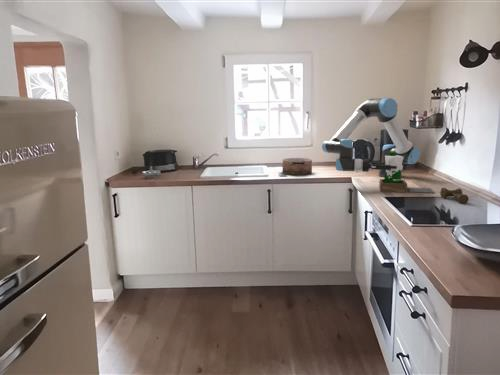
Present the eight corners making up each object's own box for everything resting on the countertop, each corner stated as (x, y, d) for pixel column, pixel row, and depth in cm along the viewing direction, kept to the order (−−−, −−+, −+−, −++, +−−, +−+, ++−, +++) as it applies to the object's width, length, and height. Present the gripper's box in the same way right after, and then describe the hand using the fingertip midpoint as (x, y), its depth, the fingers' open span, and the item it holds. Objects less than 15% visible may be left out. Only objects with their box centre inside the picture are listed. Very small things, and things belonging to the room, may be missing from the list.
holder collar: (379, 186, 239) (379, 178, 238) (403, 187, 235) (404, 179, 234) (380, 191, 225) (380, 183, 224) (406, 192, 221) (407, 184, 220)
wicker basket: (314, 176, 281) (314, 161, 279) (283, 176, 282) (283, 162, 280) (309, 170, 311) (309, 157, 309) (281, 170, 312) (281, 157, 309)
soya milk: (394, 184, 235) (396, 151, 231) (403, 186, 226) (405, 153, 223) (381, 185, 233) (383, 152, 229) (390, 187, 224) (392, 153, 220)
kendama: (453, 205, 194) (436, 195, 213) (472, 205, 193) (454, 196, 213) (455, 193, 192) (437, 185, 212) (474, 194, 192) (455, 185, 211)
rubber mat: (407, 188, 234) (407, 187, 234) (430, 189, 230) (430, 188, 230) (409, 192, 222) (409, 191, 221) (434, 193, 218) (434, 192, 218)
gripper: (361, 168, 243) (399, 169, 237) (361, 174, 223) (403, 175, 217) (362, 157, 242) (400, 157, 236) (362, 161, 221) (404, 162, 215)
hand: (401, 166), depth 226 cm, fingers closed on soya milk, 9 cm apart
